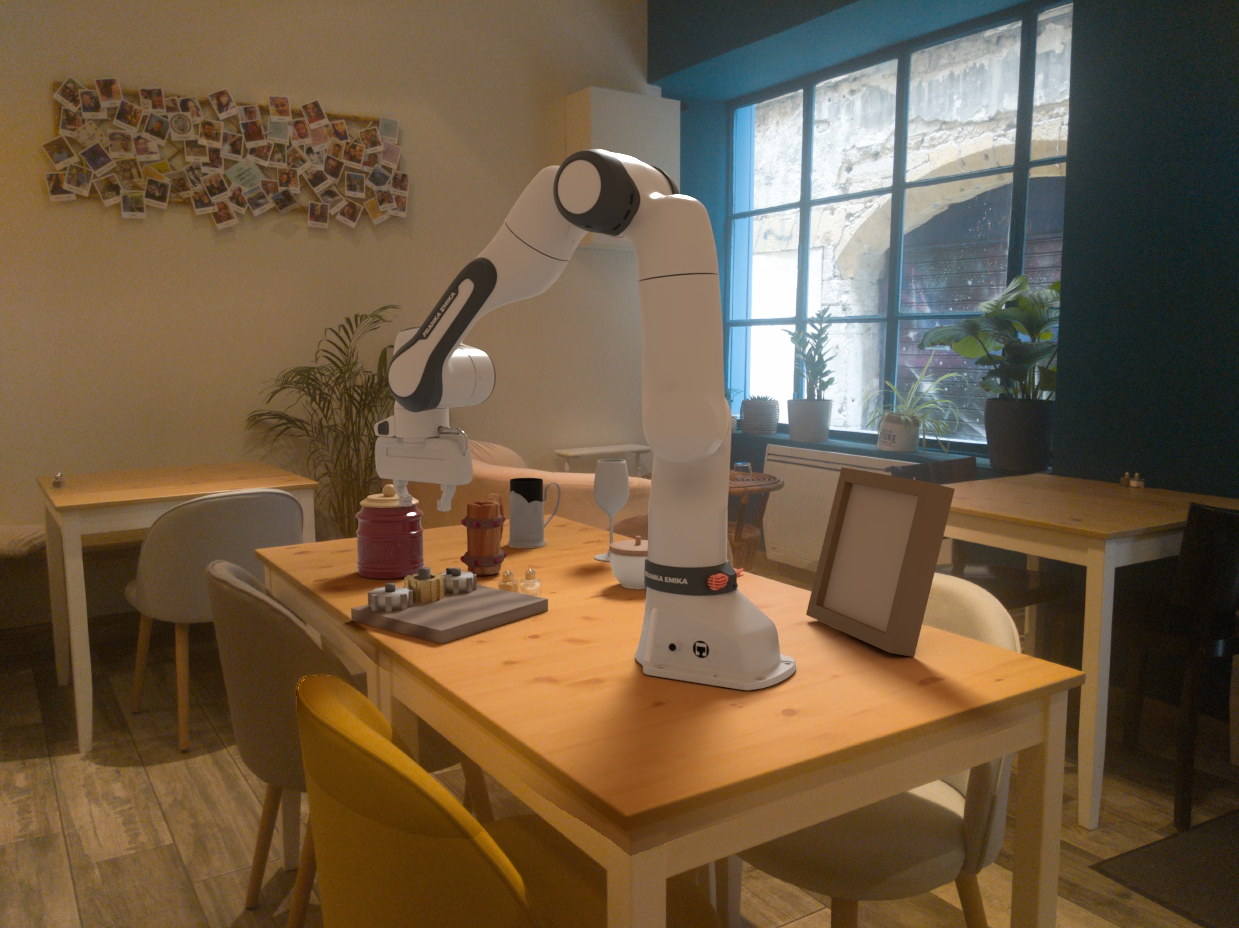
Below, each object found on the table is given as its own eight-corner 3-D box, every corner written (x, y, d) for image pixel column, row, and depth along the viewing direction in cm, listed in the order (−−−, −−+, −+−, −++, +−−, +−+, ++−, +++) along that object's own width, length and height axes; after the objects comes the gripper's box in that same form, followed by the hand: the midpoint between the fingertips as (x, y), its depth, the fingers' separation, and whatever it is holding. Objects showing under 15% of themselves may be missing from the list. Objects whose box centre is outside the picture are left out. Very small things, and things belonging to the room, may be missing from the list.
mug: (495, 579, 181) (495, 502, 180) (455, 577, 183) (454, 500, 181) (518, 564, 195) (518, 492, 194) (481, 562, 197) (480, 490, 195)
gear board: (548, 610, 159) (547, 569, 158) (441, 643, 140) (441, 597, 139) (460, 592, 171) (459, 554, 171) (351, 620, 152) (350, 577, 151)
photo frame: (889, 659, 133) (897, 483, 131) (805, 620, 153) (811, 467, 151) (973, 650, 138) (982, 481, 136) (881, 613, 159) (888, 465, 156)
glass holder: (499, 544, 217) (499, 479, 215) (548, 536, 227) (548, 474, 225) (522, 549, 211) (522, 483, 209) (571, 541, 220) (571, 478, 219)
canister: (401, 582, 179) (400, 490, 177) (343, 577, 183) (341, 486, 181) (436, 568, 191) (435, 481, 189) (381, 563, 195) (379, 479, 193)
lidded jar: (623, 594, 170) (623, 543, 169) (600, 582, 180) (600, 533, 179) (676, 589, 175) (677, 539, 174) (650, 577, 184) (651, 529, 183)
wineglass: (635, 557, 203) (636, 460, 201) (616, 563, 197) (617, 463, 195) (606, 553, 207) (606, 458, 205) (586, 559, 201) (586, 460, 199)
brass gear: (452, 596, 160) (452, 576, 159) (423, 604, 155) (422, 583, 154) (426, 591, 164) (425, 571, 163) (396, 598, 158) (396, 577, 158)
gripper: (480, 426, 152) (482, 511, 154) (396, 422, 165) (399, 501, 166) (451, 428, 147) (454, 516, 149) (367, 424, 160) (370, 505, 161)
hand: (424, 508), depth 157 cm, fingers open, 8 cm apart
